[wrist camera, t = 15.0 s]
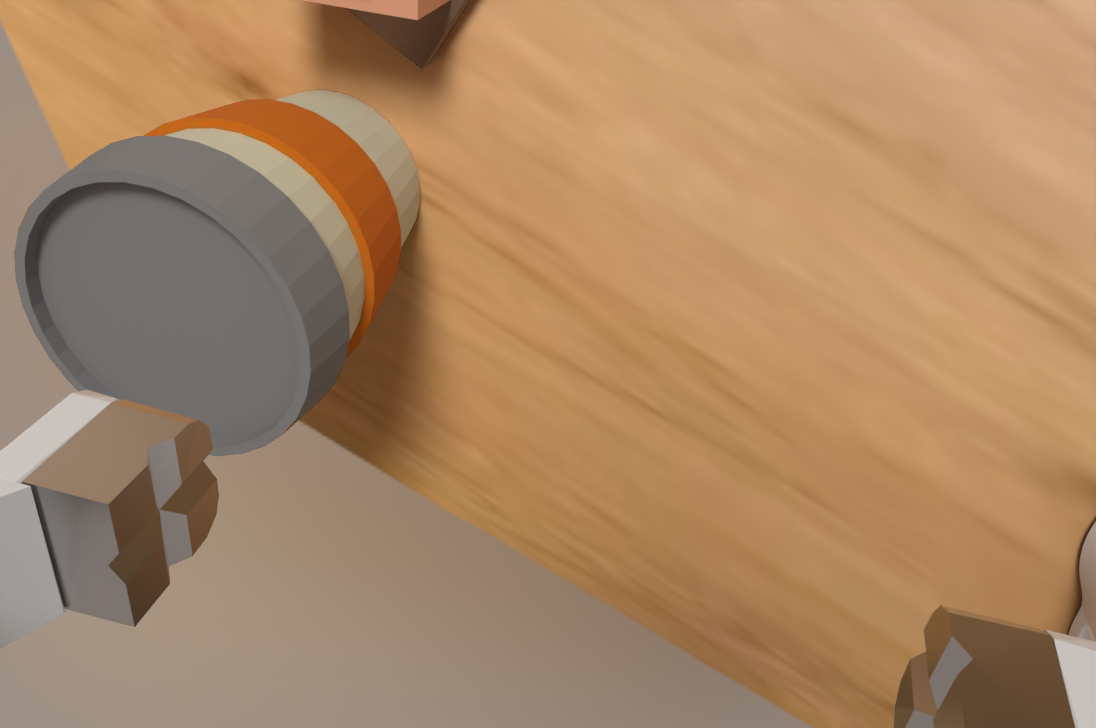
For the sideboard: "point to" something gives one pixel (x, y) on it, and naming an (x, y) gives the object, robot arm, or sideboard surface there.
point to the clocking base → (415, 30)
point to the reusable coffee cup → (222, 260)
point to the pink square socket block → (389, 6)
